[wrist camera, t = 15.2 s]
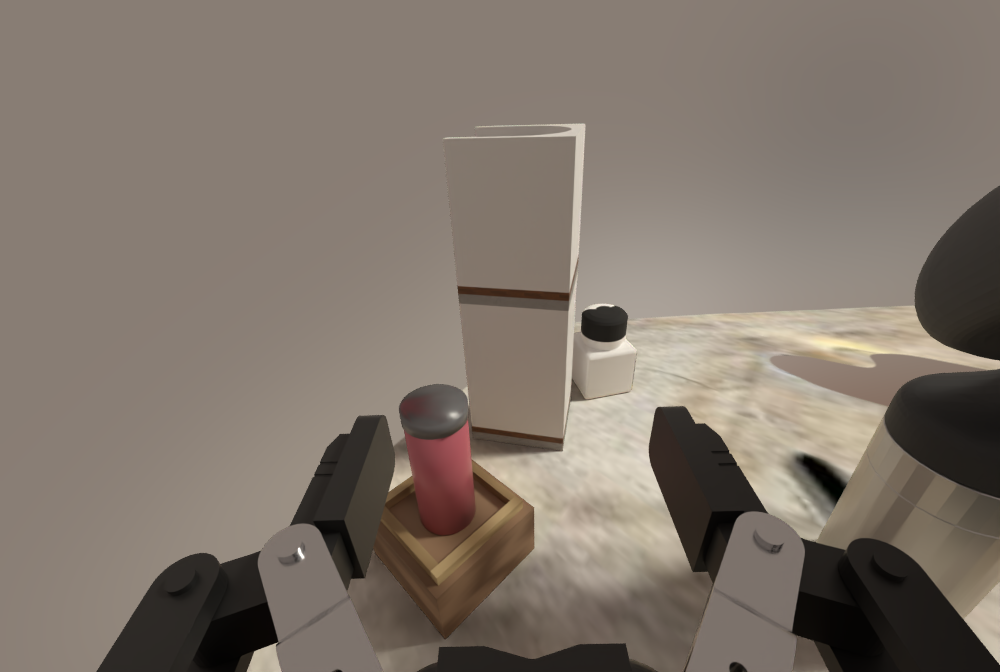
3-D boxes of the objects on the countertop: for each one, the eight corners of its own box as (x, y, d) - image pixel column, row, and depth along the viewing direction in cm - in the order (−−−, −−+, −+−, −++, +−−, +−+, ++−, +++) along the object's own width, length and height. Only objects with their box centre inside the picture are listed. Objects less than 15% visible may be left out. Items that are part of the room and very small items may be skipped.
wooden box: (460, 485, 49) (454, 439, 45) (534, 548, 42) (533, 500, 38) (374, 552, 42) (359, 505, 39) (445, 639, 35) (435, 591, 32)
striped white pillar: (571, 396, 61) (585, 123, 44) (562, 451, 52) (576, 136, 35) (493, 387, 64) (477, 126, 46) (472, 438, 55) (442, 138, 37)
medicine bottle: (632, 392, 62) (642, 318, 56) (585, 401, 60) (590, 326, 54) (610, 364, 68) (617, 295, 62) (567, 372, 66) (570, 302, 60)
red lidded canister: (451, 478, 42) (438, 376, 36) (488, 508, 39) (481, 402, 33) (406, 512, 39) (385, 406, 33) (444, 547, 36) (427, 437, 30)
